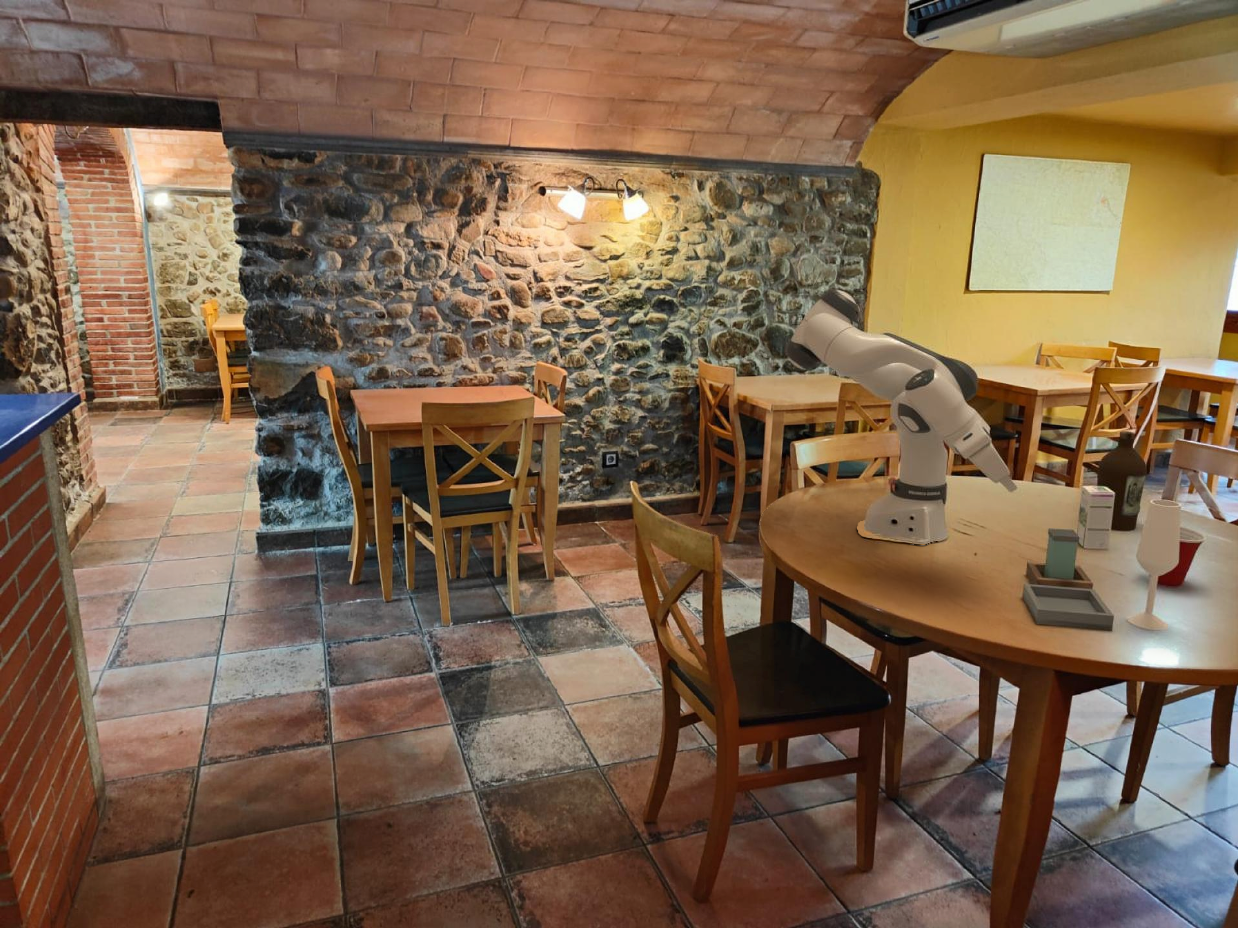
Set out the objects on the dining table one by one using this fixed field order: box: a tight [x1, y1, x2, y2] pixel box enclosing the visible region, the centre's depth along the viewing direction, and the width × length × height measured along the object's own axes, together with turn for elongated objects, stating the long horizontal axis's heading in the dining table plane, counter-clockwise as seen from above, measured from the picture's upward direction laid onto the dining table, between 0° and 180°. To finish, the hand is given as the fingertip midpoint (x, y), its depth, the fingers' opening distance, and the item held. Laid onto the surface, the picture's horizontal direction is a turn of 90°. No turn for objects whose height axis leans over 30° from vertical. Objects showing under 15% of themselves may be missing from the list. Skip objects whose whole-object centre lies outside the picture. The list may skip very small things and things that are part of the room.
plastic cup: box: [1149, 525, 1207, 588], centre depth 169 cm, size 11×11×12 cm
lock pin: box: [1044, 528, 1079, 580], centre depth 169 cm, size 5×5×12 cm
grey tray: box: [1021, 583, 1115, 632], centre depth 156 cm, size 13×13×3 cm
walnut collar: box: [1025, 561, 1094, 589], centre depth 170 cm, size 10×10×3 cm
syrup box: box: [1076, 485, 1115, 551], centre depth 192 cm, size 6×6×14 cm
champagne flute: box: [1126, 499, 1182, 631], centre depth 149 cm, size 7×7×24 cm
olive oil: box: [1096, 430, 1148, 532], centre depth 205 cm, size 11×11×25 cm
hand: (1008, 482), depth 168 cm, fingers open, 8 cm apart
